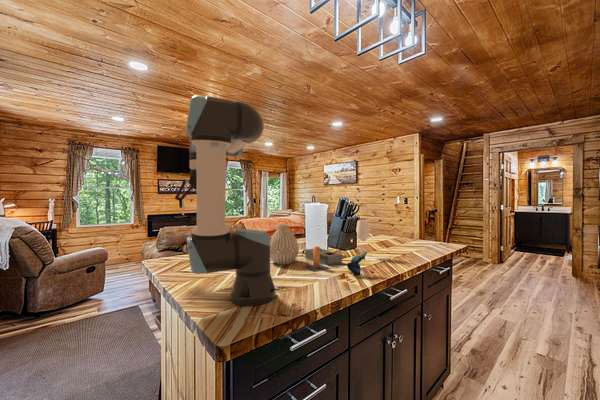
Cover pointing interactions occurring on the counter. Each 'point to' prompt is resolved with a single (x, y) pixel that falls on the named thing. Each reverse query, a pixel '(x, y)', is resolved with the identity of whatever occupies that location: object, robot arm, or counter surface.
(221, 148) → the robot arm
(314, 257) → the peg
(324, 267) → the mat
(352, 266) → the fish
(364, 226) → the cup
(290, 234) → the vase
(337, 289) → the counter surface
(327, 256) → the hole block
